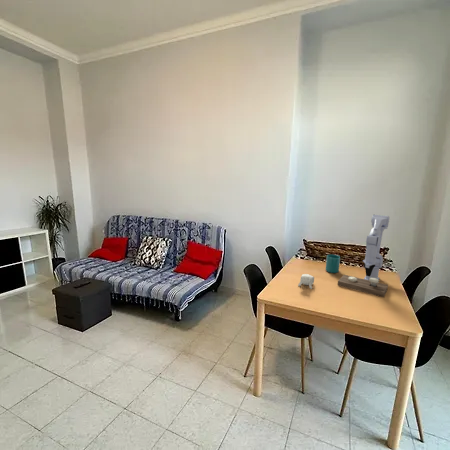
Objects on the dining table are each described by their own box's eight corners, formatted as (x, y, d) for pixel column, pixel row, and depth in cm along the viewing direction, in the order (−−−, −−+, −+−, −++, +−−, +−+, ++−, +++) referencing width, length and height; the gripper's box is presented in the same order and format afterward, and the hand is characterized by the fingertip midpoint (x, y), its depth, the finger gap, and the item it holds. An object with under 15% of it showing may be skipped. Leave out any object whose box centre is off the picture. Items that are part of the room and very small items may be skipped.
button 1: (348, 282, 177) (349, 276, 176) (357, 284, 174) (357, 278, 173) (346, 284, 173) (347, 278, 172) (355, 286, 170) (355, 280, 169)
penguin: (300, 286, 178) (295, 285, 165) (303, 273, 179) (297, 272, 166) (314, 289, 174) (309, 289, 161) (316, 276, 175) (311, 274, 162)
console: (343, 278, 183) (344, 274, 183) (387, 289, 167) (388, 284, 167) (337, 285, 172) (337, 280, 172) (383, 297, 157) (384, 292, 156)
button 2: (369, 283, 169) (370, 277, 168) (378, 285, 166) (379, 279, 165) (367, 285, 165) (368, 279, 164) (377, 288, 162) (377, 281, 161)
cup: (339, 268, 201) (341, 254, 199) (337, 274, 191) (339, 259, 189) (327, 266, 206) (328, 252, 203) (324, 271, 195) (325, 257, 193)
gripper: (366, 250, 172) (364, 271, 175) (360, 256, 161) (358, 277, 164) (378, 253, 167) (376, 273, 170) (373, 258, 156) (371, 280, 159)
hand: (368, 275), depth 167 cm, fingers closed
